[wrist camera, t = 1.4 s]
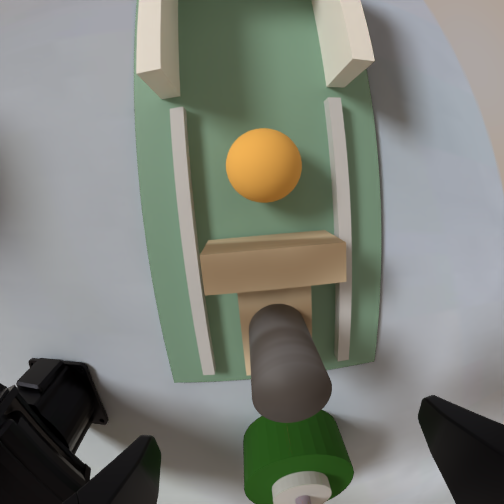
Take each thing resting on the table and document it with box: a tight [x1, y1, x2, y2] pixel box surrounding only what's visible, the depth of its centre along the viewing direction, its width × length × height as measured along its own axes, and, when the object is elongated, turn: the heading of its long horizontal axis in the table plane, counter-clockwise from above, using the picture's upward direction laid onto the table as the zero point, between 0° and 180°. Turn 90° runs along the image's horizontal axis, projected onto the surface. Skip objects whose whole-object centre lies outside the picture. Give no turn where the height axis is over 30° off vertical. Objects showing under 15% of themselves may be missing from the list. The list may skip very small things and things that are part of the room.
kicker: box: [200, 230, 346, 423], centre depth 15 cm, size 8×7×8 cm
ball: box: [226, 128, 302, 203], centre depth 16 cm, size 4×4×4 cm
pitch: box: [134, 0, 381, 383], centre depth 16 cm, size 29×15×5 cm, turn 5°
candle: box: [243, 410, 354, 504], centre depth 18 cm, size 8×8×10 cm
